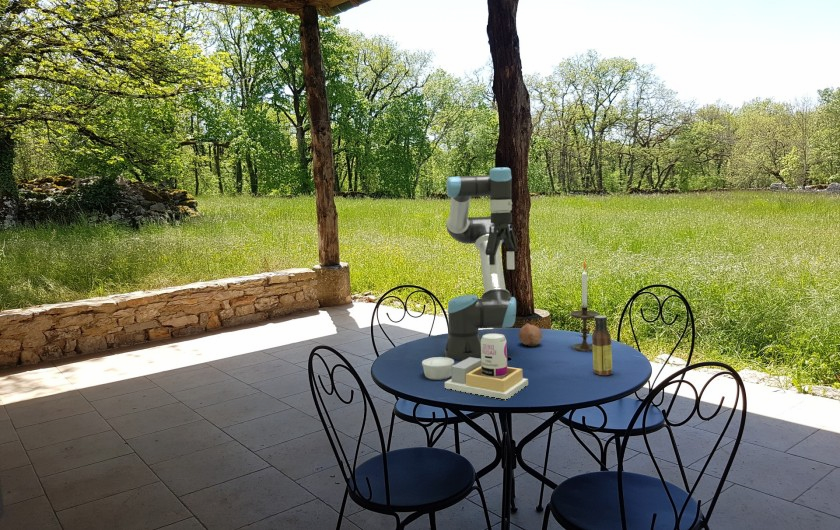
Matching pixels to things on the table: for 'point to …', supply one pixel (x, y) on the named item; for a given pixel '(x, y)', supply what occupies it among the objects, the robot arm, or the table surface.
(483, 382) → the tan-rimmed shallow tray
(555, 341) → the table surface
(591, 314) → the candlestick
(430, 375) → the ramekin
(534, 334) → the onion
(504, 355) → the supplement can
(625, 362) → the table surface
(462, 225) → the robot arm
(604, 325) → the sauce bottle
